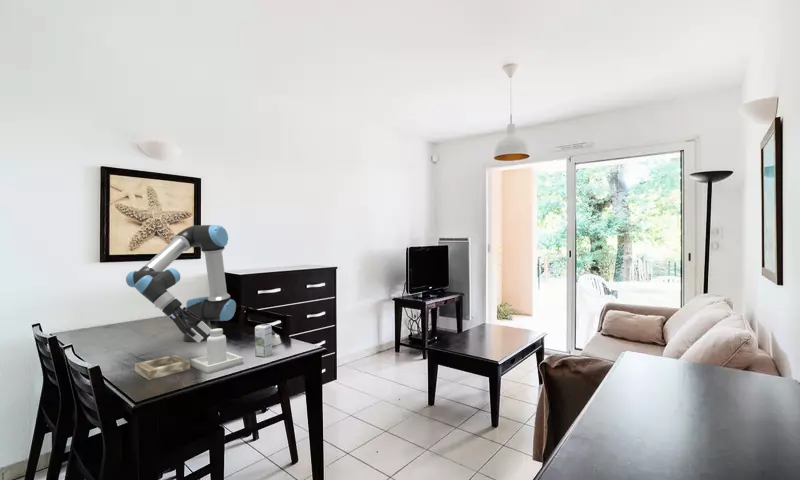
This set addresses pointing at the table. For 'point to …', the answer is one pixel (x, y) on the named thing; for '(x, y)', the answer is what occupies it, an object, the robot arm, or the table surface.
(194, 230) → the robot arm
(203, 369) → the tray
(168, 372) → the holder
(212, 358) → the pill bottle
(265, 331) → the syrup box
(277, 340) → the inkwell
